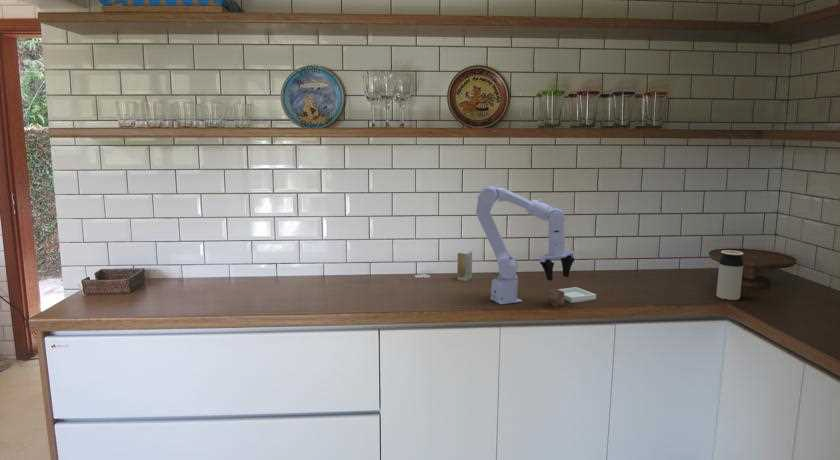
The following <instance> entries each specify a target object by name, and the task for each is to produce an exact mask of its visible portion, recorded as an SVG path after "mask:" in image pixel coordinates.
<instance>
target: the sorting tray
mask: <svg viewBox="0 0 840 460" xmlns="http://www.w3.org/2000/svg"><path fill="white" fill-rule="evenodd" d="M556 290H560V291H563V292H564V301H565V300H566V302H568V303H570V304H573V303H581V302H589V301H594V300H595V301H596V300H597V294H596V293H593V292H591V291H588V290H585V289H583V288H580V287H578V286H576V287H575V286H573V287H566V288H559V289H556Z"/></svg>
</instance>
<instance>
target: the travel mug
mask: <svg viewBox="0 0 840 460" xmlns="http://www.w3.org/2000/svg"><path fill="white" fill-rule="evenodd" d="M720 253H721V257H720V258H719V263H718V274H717V284H716V297H718V298H719V299H722V300H725V299H727V300H726V301H738V300H740V298H741V292H742V281H743V280H742V279H743V270H744V262H745V261H744V260H743V256H744V252H742V251H738V250H731V249H726V250H721V252H720Z"/></svg>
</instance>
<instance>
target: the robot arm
mask: <svg viewBox="0 0 840 460" xmlns="http://www.w3.org/2000/svg"><path fill="white" fill-rule="evenodd" d="M497 200H498V202H499V203H500V202H509V203H511V204H513V205H517V206H519V207H521V208H523V209H526V210H527V213H528V214H529V215H531V216H533V217H535V218H537V219H539V220H542V221H547V222H548V230H547V231H548V233H547V234H548V253H546V254H543V255H540V256H539V263H540V265H541V266H542V268H543V270H544V271H543V272H544V274H545V276H546V280H547V281H553V279H554V275H553V271H554V266H555V262H553V261H555V260H559V259H560V262H561V265H562V267H561V269H562V277H565V278H569V276H570V271H571V268H572V266H573V264H574V262H575V251H573V250H567V251H566V244H565V243H566V236H565V231H566V230H565V224H564V222H565V220H566V219H565V214H564V211H563V210H561V209H560V208H559V207H555V205H550V204H547V203H544V202H543V200H542V199H533V200H530V199H527V198H525V197H523V196H521V195H519V194H517V193H515V192H512V191H511V190H509V189H506V188H504V187H501V186H496V185H493V184H488V185H486V186H485V187H484V188H482V189H481V190H480V192H479V195H478V196H477V204H476V210H475V211H476V212H475V214H476V216H477V218H478V221H479V223H480V225H481V228H482V229H483V232H484V234H485V235H486V238H487V240H488V242H489V244H490V246H491V249H492V251H493V253H494V255H495V258H496V263H497V265H498V272H499V274H498V276H497V277H496V278H494V279H492V281H491V285H490V287H491V288H490V297H489V299H490V300H491V301H493V302H495V303H497V304H499V305H507V304H514V303H521V302H523V300H522V299H519V298H518V292H519V291H518V289H519V288H518V287H519V286H518V285H519V284H518V283H519V282H518V281H519V277H518V275H517V270H518V267H519V265H518V262H517V260H516V259H515V258H514V257H513V256H512V255H511V253H510V251H509V250H508V249H507V248H508V247H507V246H506V244H505V242H504V239H503V237H502V235H501V234H500V231H499V229H498V227H497V224H496V222H495V221H494V218H493V216H492V214H491V211H492V209H493V206H494V204H495V203H496V201H497Z"/></svg>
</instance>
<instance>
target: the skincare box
mask: <svg viewBox="0 0 840 460" xmlns="http://www.w3.org/2000/svg"><path fill="white" fill-rule="evenodd" d="M456 279H457V281H463V282H467V281H469V280H471V279H473V251H472V250H461V251H458V252H457V278H456Z"/></svg>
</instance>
